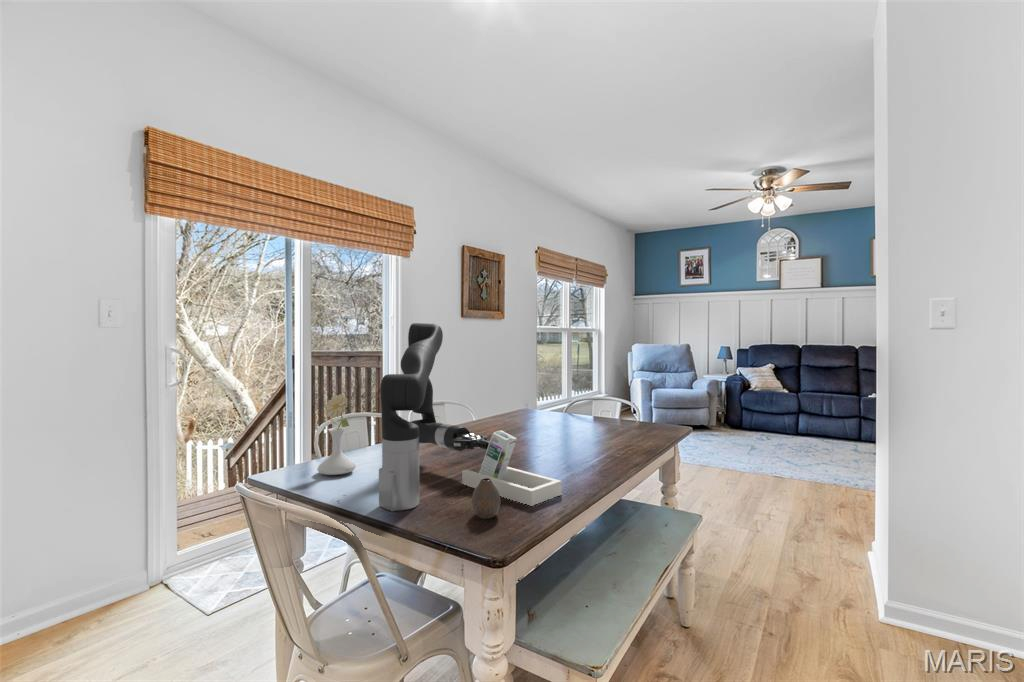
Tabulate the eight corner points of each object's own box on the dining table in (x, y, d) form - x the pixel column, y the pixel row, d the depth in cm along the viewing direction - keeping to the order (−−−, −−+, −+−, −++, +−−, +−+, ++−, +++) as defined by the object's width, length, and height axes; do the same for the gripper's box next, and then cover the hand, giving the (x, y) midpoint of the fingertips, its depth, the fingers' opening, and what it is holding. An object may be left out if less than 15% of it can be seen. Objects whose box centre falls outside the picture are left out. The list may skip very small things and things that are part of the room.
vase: (500, 510, 122) (500, 475, 121) (500, 521, 115) (500, 483, 115) (472, 510, 121) (472, 475, 121) (470, 521, 114) (470, 483, 114)
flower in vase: (311, 472, 154) (311, 392, 154) (347, 466, 162) (346, 390, 162) (327, 482, 145) (327, 397, 144) (364, 474, 152) (364, 393, 152)
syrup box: (476, 477, 142) (491, 432, 139) (486, 472, 147) (501, 429, 145) (492, 487, 140) (508, 441, 137) (502, 481, 145) (518, 437, 142)
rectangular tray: (531, 507, 124) (531, 491, 124) (462, 484, 143) (462, 470, 143) (561, 495, 132) (561, 480, 132) (492, 475, 151) (492, 462, 151)
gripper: (435, 428, 150) (473, 436, 138) (468, 422, 160) (506, 429, 148) (435, 452, 150) (473, 462, 138) (468, 445, 160) (506, 454, 148)
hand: (490, 445), depth 143 cm, fingers closed
